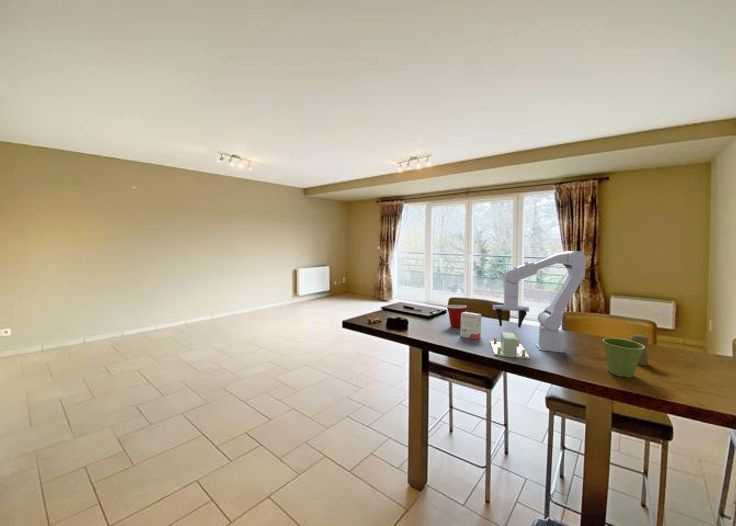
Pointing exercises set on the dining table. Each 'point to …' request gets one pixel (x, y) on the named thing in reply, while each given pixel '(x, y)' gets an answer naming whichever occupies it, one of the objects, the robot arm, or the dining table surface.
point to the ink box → (470, 325)
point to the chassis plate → (499, 351)
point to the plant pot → (622, 356)
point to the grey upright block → (643, 357)
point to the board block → (508, 342)
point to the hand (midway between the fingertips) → (509, 326)
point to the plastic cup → (455, 314)
